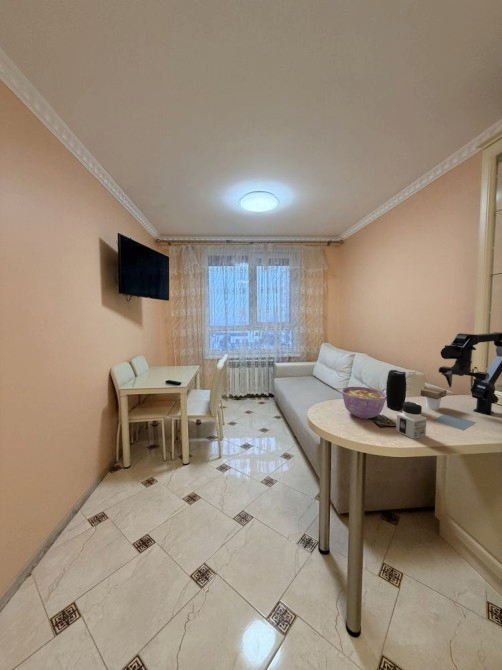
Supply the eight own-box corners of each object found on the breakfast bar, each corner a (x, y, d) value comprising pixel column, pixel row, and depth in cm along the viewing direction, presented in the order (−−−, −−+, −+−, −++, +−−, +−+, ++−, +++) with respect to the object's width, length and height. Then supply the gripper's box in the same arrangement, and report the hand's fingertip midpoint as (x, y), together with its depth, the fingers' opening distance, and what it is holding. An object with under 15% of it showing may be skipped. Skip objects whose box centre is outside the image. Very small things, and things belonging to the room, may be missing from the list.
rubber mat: (445, 414, 125) (445, 413, 125) (476, 423, 115) (476, 422, 115) (431, 421, 117) (431, 420, 117) (463, 431, 107) (463, 430, 107)
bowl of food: (360, 405, 137) (361, 384, 136) (395, 419, 119) (396, 395, 118) (332, 411, 128) (332, 389, 127) (365, 427, 110) (366, 401, 109)
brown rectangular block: (430, 392, 138) (430, 386, 138) (446, 395, 132) (446, 390, 132) (420, 395, 132) (420, 389, 132) (436, 399, 126) (437, 393, 126)
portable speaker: (408, 408, 132) (410, 372, 130) (397, 412, 128) (400, 374, 126) (392, 403, 140) (394, 369, 138) (381, 406, 135) (383, 370, 133)
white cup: (435, 406, 136) (436, 393, 135) (443, 411, 129) (444, 398, 129) (421, 405, 137) (422, 393, 136) (429, 410, 130) (430, 397, 129)
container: (413, 439, 100) (415, 407, 99) (395, 431, 107) (397, 401, 106) (426, 435, 103) (428, 405, 102) (407, 428, 110) (409, 399, 109)
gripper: (434, 357, 128) (432, 387, 130) (482, 363, 113) (479, 397, 114) (444, 355, 134) (442, 384, 136) (491, 361, 119) (488, 393, 120)
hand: (461, 389), depth 126 cm, fingers open, 9 cm apart
